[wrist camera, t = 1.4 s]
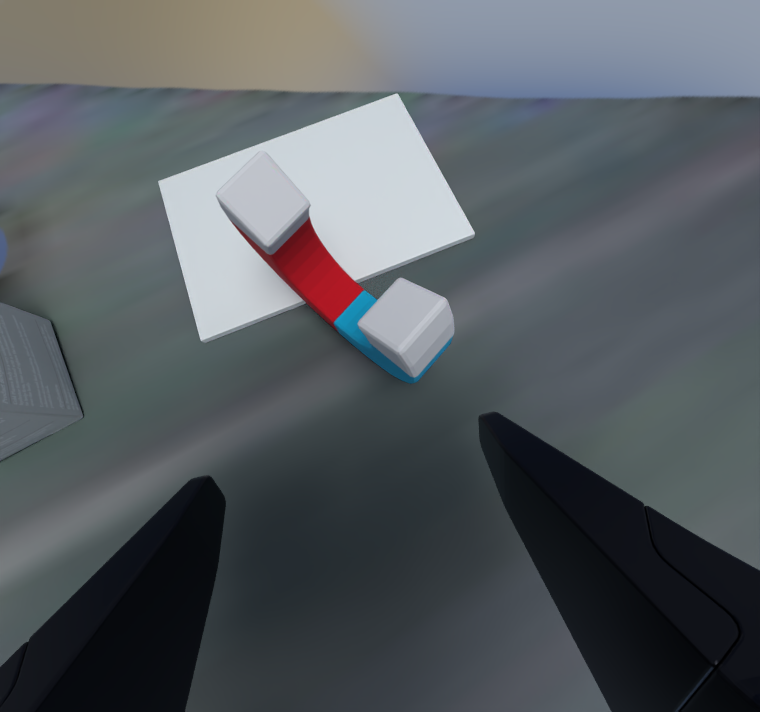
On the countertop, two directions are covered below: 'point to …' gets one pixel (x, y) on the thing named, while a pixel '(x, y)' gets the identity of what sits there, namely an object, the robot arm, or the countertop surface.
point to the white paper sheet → (315, 212)
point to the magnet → (334, 275)
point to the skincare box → (31, 382)
